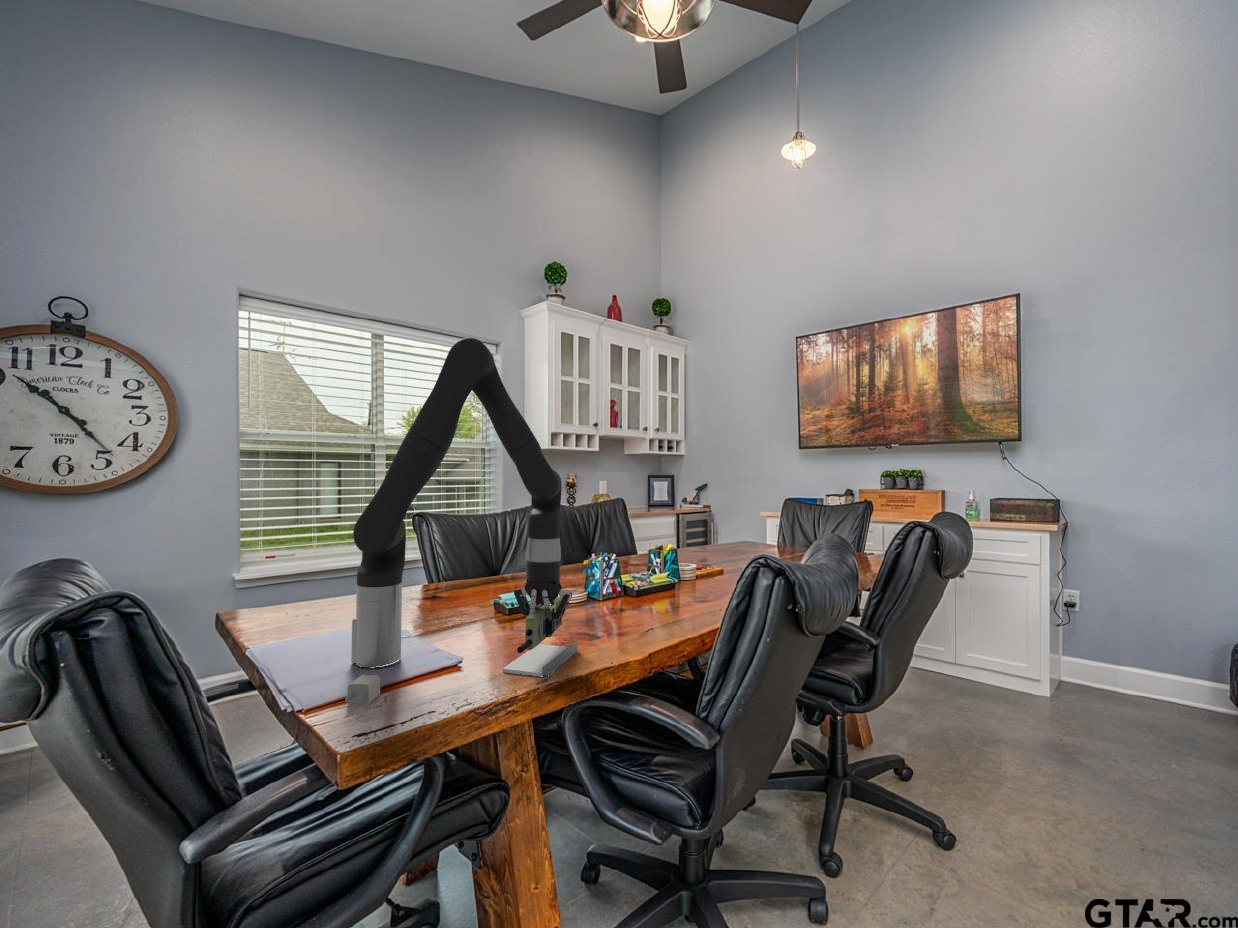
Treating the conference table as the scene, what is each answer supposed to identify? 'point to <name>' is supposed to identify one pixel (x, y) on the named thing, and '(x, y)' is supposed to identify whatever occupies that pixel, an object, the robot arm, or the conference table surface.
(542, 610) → the handheld radio
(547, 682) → the conference table surface
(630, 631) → the conference table surface
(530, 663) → the charging dock
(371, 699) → the usb wall charger
